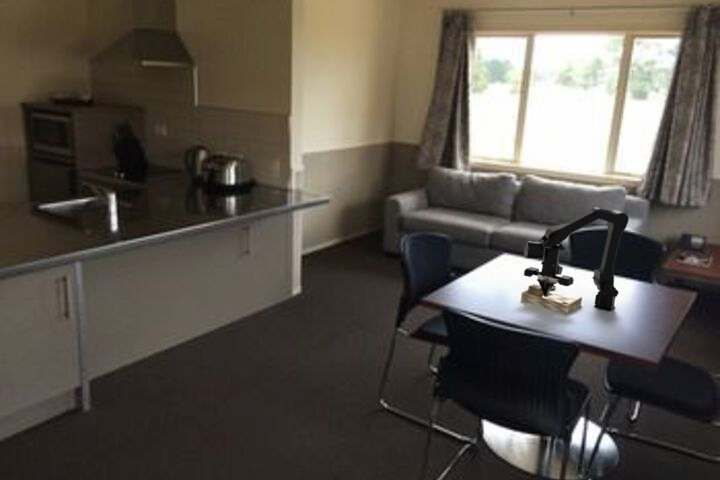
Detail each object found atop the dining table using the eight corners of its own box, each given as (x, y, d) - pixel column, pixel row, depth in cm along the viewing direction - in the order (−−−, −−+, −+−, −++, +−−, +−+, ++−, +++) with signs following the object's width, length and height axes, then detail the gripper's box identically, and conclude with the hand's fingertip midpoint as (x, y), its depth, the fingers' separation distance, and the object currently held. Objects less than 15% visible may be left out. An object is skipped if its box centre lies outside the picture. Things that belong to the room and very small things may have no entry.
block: (542, 297, 248) (544, 286, 246) (537, 299, 244) (539, 289, 243) (532, 294, 250) (533, 284, 249) (527, 296, 247) (528, 286, 246)
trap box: (580, 305, 246) (582, 297, 245) (566, 313, 236) (567, 305, 235) (536, 293, 259) (537, 285, 258) (520, 300, 248) (521, 292, 248)
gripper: (581, 261, 241) (576, 298, 245) (537, 251, 253) (533, 286, 257) (570, 266, 233) (564, 304, 237) (525, 255, 245) (520, 292, 248)
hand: (545, 296), depth 245 cm, fingers closed
